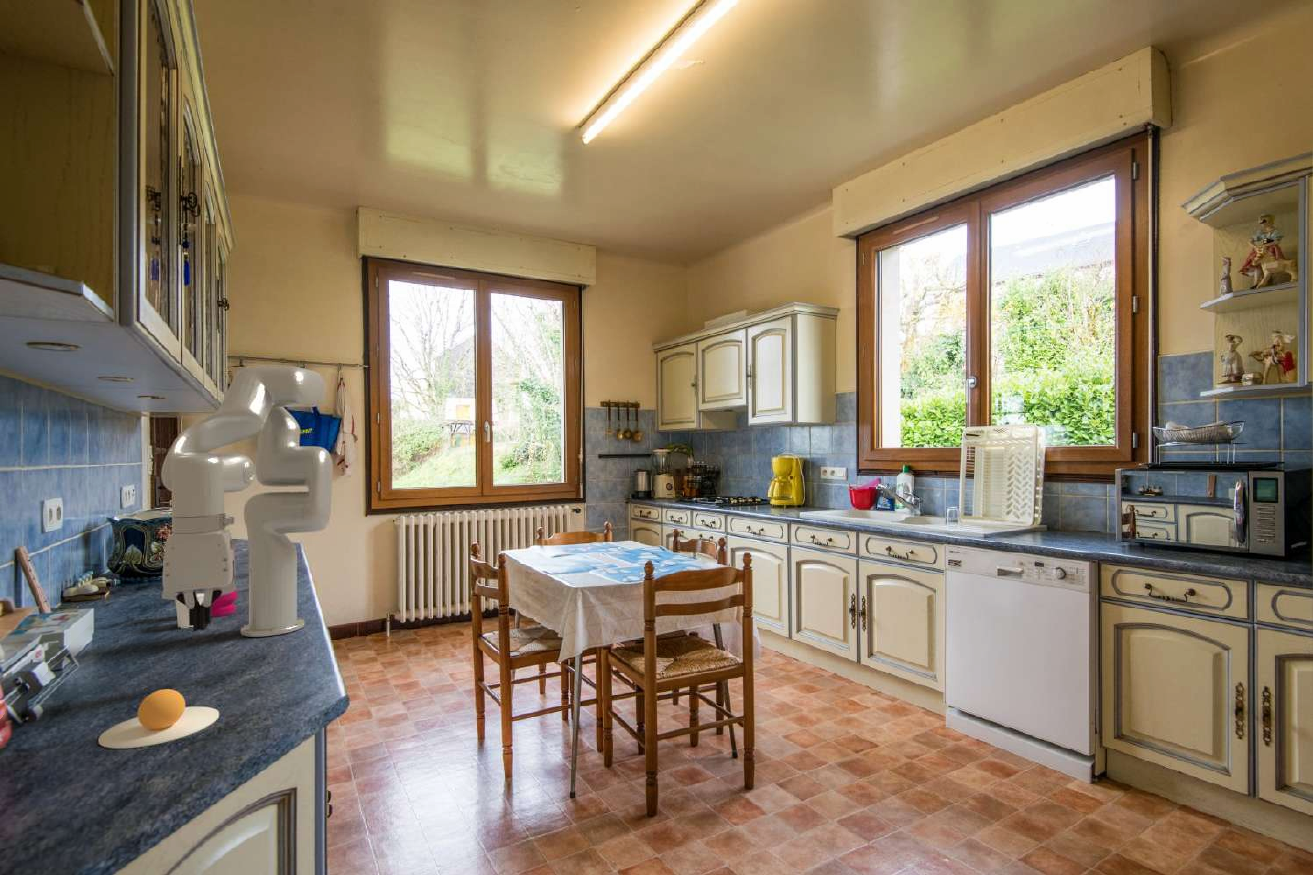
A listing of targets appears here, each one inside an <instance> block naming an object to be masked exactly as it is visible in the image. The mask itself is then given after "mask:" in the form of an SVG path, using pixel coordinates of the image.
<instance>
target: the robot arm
mask: <svg viewBox="0 0 1313 875" xmlns="http://www.w3.org/2000/svg"><path fill="white" fill-rule="evenodd" d="M326 394H327V385H326V382H325V380H324V377H323V376H322V375H321V373H319V372H318V371H317V370H316V371H315V370H313V369H307V368H303V367H299V366H289V365H286V366H285V365H283V366H282V365H251V366H247V367H243V368H241V369H239V370H238V371H237V372H236V374H235V375H234V377H233V379H232V381H231V382H230V385H229V387H228V389H227V392H226V393H225V396H224V397H223V400H222V402H221V403H220V405H219V408H218V410H217V411H216V412H213V413H211V414H209V415H207V416H206V417H204V418H201V419H200V420H199V421H196V422H195V423H193V424H192V425H190V426H189V427H187V428H186V429H184V430H183V431H182V432H180V433H179V434H178V435H177V437H176V438H175V439H174V441H173V443H172V445H171V446H170V448H169V450H168V451H167V454H166V456H165V458H164V461H163V463H162V466H161V467H162V468H161V472H160V474H161V476H160V477H161V481H162V484H163V486H164V487H165V488H166V489H167V490H168V491H171V527H172V528H171V530H172V531H171V532H172V533H169V534H168V535H167V537H166V543H165V546H164V547H165V548H164V554H163V564H162V588H163V589H162V594H161V598H162V599H164V600H172V601H175V600H178V601H180V602H181V603H182V604H184V605H185V606H186V607H187V608H188V609H189V625H190V626H193V629H192V631H193V632H197V631H199V630H200V631H205V630H206V629H207V628H208V625H209V624H211V623H212V620H213V619H212V617H211V604H212V603H213V602H214V601H215V600H216V599H217V598H218V597H219V596H221V595H225V594H228V593H232V592H234V591H235V590H236V589H237V584H236V582H235V578H236V559H235V557H236V556H235V553H234V548H235V547H234V548H233V546H234V542H233V537H232V533H231V529H230V530H229V529H225V528H226V527H227V526H229V525H234V524H235V517H234V516H228V515H226V513H225V493H236V492H242V491H244V490H246V489H247V488H249V487H250V486H251V484H252V483H253V481H254V479H255V477H256V480H257V482H258V483H259V484H260V485H262V486H264V487H272V488H273V487H274V488H288V487H307V488H308V490H307V491H269V492H268V491H267V492H262V493H258V494H255V495H253V496H251V497H250V498H248V499H247V501H246V502H245V504H244V508H243V517H244V519H243V520H244V525H245V527H246V528H245V529H246V533H247V540H248V541H247V542H248V624H246V625H244V626H242V627H241V628H240V634H241V636H244V637H252V638H256V637H257V638H260V637H262V638H263V637H270V636H271V637H272V636H277V635H283V634H287V633H292V632H294V631H298V630H300V629H302V628H304V626H305V621H306V620H304V619H303V618H301V617H300V618H299V617H298V563H297V562H298V554H297V553H298V552H297V549H296V546H295V544H293V542H292V541H291V540H290V538H289V537H288V536H287V535H286V534H294V533H295V534H296V533H297V534H299V533H300V534H301V533H315V532H320V531H321V532H322V531H323V530H325V529H326V528H327V527H328V526H329V522H330V519H331V510H332V508H331V507H332V494H333V493H332V492H333V488H332V487H333V476H334V475H333V471H334V470H333V469H334V468H333V466H334V465H333V459H332V457H331V454H330V452H329V451H328V450H327V449H326V448H325V447H321V446H315V445H314V446H310V445H309V446H308V445H307V446H300V441H301V440H300V438H301V427H300V424H299V423H298V422H297V420H296V419H295V417H294V416H293V415H292V414H291V413H290V412H289V411H288V410H287V409H286V408H297V407H298V408H299V407H300V408H315V407H318V406H320V405H322V403H323V402H324V401H325V399H326V398H325V397H326ZM256 435H257V436H258V438H257V449H256V461H255V463H256V464H254V462H253V460H252V459H251V458H250V457H249V456H247V455H246V454H242V453H239V452H211V451H213V450H216V449H219V448H221V447H225V446H229V445H233V444H235V443H239V442H243V441H244V440H248V439H250V438H253V437H255V436H256ZM198 591H204V592H203V593H204V598H203V603H202V604H201V605H200V604H199V602H198V599H197V594H196V593H197V592H198Z"/></svg>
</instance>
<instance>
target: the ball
mask: <svg viewBox="0 0 1313 875" xmlns="http://www.w3.org/2000/svg"><path fill="white" fill-rule="evenodd" d="M185 707H186V700H185V698H184V696H183V695H182V694H181V693H180V692H178V691H177V690H174V689H169V688H167V689H166V688H165V689H159V690H156V691H154V692H151V693H150V694H149V695H147V696H146V697H145V698H144V699H143V700H142V702H141V703H140V705H139V707H138V709H137V717H138V719H139V722H140V723H141V724H142V725H143V726H144V727H146V728H148V729H152V730H160V729H164V728H167V727H169V726H171V725H173V724H174V723H175V722H177V721H178V720H179V718H180V717H181V716H182V714H183V712H184V709H185Z"/></svg>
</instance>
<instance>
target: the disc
mask: <svg viewBox="0 0 1313 875" xmlns="http://www.w3.org/2000/svg"><path fill="white" fill-rule="evenodd" d="M219 717H220V712H219V710H218V709H216V708H214V707H210V706H185V709H184V712H183V714H182V716H181V717H180V718H179V720H178V721H177V722H175V723H174V724H173V725H171V726H169V727H167V728H164V729H160V730H152V729H148V728H146V727H144V726H143V725H142V724H141V723H140V722H139V719H138V716H136V717H133V718H131V719H127V720H125V721H122V722H120V723H118V724H116V725H114V726H112V727H110V728H108V729H107V730H106V731H105V730H104V732H103V733H101V734H100V736H99V738H98V744H99V745H100V746H102V747H104V748H106V749H117V750H120V749H121V750H123V749H136V748H142V747H143V748H144V747H149V746H155V745H159V744H164V743H168V742H171V741H175V740H178V739H182V738H185V737H188V736H190V735H193V734H196V733H198V732H200V731H202V730H204V729H206V728H208V727H209V726H211V725H212V724H214V723H215V722H216V721H217V720H218V719H219Z"/></svg>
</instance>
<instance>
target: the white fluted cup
mask: <svg viewBox="0 0 1313 875" xmlns="http://www.w3.org/2000/svg"><path fill="white" fill-rule="evenodd" d="M196 594H197V599H198V602H199V604H200V605H201V604H202V603H203V598H204V592H198V593H197V592H196ZM174 601H175V608H176V609H175V610H176V617H177V628H179V627H181V628H180V629H190V628H189V627H193V626H190V625H189V609H188V608H187V607H186V606H185V605H184V604H182V603H181V602H180V601H178V600H174Z"/></svg>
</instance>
